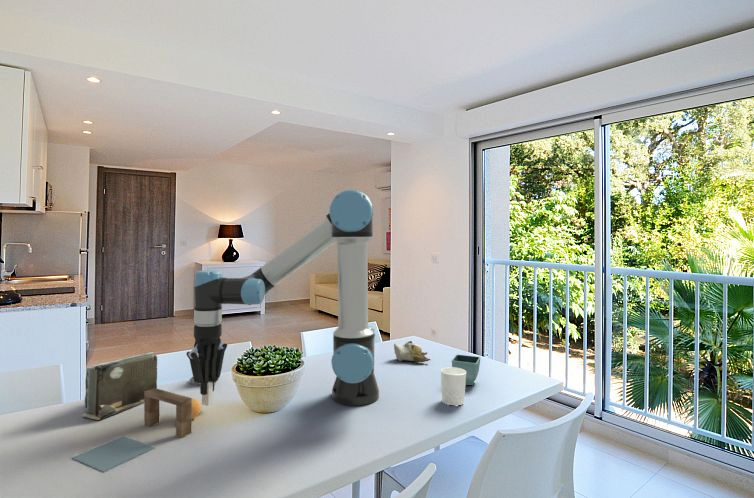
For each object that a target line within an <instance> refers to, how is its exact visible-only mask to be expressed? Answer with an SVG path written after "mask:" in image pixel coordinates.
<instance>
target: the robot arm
mask: <svg viewBox="0 0 754 498" xmlns="http://www.w3.org/2000/svg"><path fill="white" fill-rule="evenodd" d="M373 216H374V209H373V204H372V202H371V199H370V197H369V196H368V195H366V193H364V192H362V191H360V190H357V189H345V190H343V191H341V192H338V194H336V195H335V196H334V197H333V199H332V201H331V202H330V206H329V213H327V214H326V215H325V216H324V221H322V222H320V223H319V224H318V225H317V226H316V227H314V228H312V230H310V231H308V232H307V233H306V234H305V235H303V236H302V237H300V238H298V240H296V241H295V242H293V243H292V244H291V245H290V246H288V247H286V248H285V249H284V250H283V251H281V252H279V254H277V255H276V256H274V257H273V258H272V259H270V260H269V261H268V262H267V263H265V264H264V265H263V266H261V267H260V268H258V269H257V270H255V271H254V272H253V273H252V274H250V275H246V276H244V277H230V278H229V277H223V276H224V275H223V272H222V271H221V270H215V269H214V270H213V269H212V270H211V269H204V270H198V271H196V272H195V273H194V281H193V282H194V283H193V296H194V297H193V298H194V299H193V305H194V307H193V323H194V326H193V338H194V341H195V342H194V344H193V348H192V349H191V350H190V351H187V352H186V356H187V358H188V359H189V364H190V368H191V373H192V377H193V378H194V382H196V384H200V385H199V387H200V390H199V391H200V393H199V394H200V395H201V404H202V405H204V406H208V407H209V406H212V405H213V400H214V399H213V397H214V395H213V392H214V391H215V383H214V382H216V381H217V379H216V378H217V377H219V378H220V377H221V372H222V369H223V364H224V363H223V362H224V357H225V352H226V349H227V347H228V344H227V343H225V342H222V340H221V337H222V333H223V329H222V328H223V327H222V322H223V318H222V317H223V314H222V313H223V305H248V306H251V305H260V304H262V303H263V301H264V299H265V295H266V294H267V293H268V292H270V291H271V290H273V289H274V288H275V287H276V286H278V285H279V284H280V283H281V282H283V281H284V280H286V279H287V278H288V277H290V276H291V275H293V274H294V273H295V272H297V270H299V269H301V268H302V267H303V266H305V265H306V264H308V263H309V262H310V261H312V260H313V259H314V258H317V256H319V255H320V254H321V253H323V252H324V251H325V250H327V249H328V248H329V247H331V246H333V245H334V244H335V243H336V245H337V246H336V247H337V303H338V304H337V307H338V308H337V313H338V314H337V315H338V317H337V318H338V319H337V320H338V321H337V322H338V324H337V325H338V326H337V327H336V329H335V330H334V331H333V336H332V337H333V338H332V339H333V340H332V342H333V343H332V344H333V345H332V346H333V347H332V349H333V353H332V356H331V369H332V371H333V373H334V375H335V376H336V377H335V380H334V384H333V386H332V390H331V398H332V399H333V401H334V402H337V403H338V404H341V405H346V406H364V405H365V404H366V405H370V404H373V403H374V402H377V399H378V400H379V398H380V390H379V389H380V388H379V386H378V382H377V378H376V376H375V337H376V333H375V328H374V326H371V325H369V294H368V293H369V286H368V285H369V281H368V279H369V275H368V274H369V273H368V271H369V270H368V266H369V264H368V259H369V258H368V244H369V242H370V241H371V240H372V239H373V229H374V228H373ZM216 372H217V373H216ZM217 382H218V381H217ZM217 382H216V383H217ZM366 405H365V406H366Z"/></svg>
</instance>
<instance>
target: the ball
mask: <svg viewBox="0 0 754 498" xmlns="http://www.w3.org/2000/svg"><path fill="white" fill-rule="evenodd" d="M191 398H192V397H191ZM201 404H202V403H201V402H200V401H199V400H198V399H197V398H192V414H191V420H193V419H195V418H197V417H198V416H199V414H200V413H201V410H202V405H201Z"/></svg>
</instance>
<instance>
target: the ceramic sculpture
mask: <svg viewBox="0 0 754 498" xmlns="http://www.w3.org/2000/svg"><path fill="white" fill-rule="evenodd" d="M393 349H394V355H395V357H396V360H397V361H398V360H399V361H398V362H402V361H408V360H409V361H408V362H412V361H415V362H418V363H426V362H429V361H431V359H430V358H427V357H426V355H428V352H423V351H422V347H421V346H420V345H419V344H417V343H413V341H412V340H410V341H407V342H405V343H404V344H403V345H401V344H398V343H393Z"/></svg>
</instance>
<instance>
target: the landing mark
mask: <svg viewBox="0 0 754 498" xmlns="http://www.w3.org/2000/svg"><path fill="white" fill-rule="evenodd" d="M153 449H155V446H153V445H150V444H147V443H144V442H141V441H139V440H136V439H133V438H131V437H128V436H125V435H122V436H120V437H118V438H115V439H113V440H111V441H107V442H105V443H103V444H100V445H98V446H96V447H93V448H90V449H89V450H87V451H84V452H81V453H79V454H78V455H75V456H72V457H71V459H73V460H74V459H75V461H77V462H79V463H81V462H82V464H83V463H84V464H83V465H85V466H88V465H89V467H90V466H91V467H90V468H93V467H94V468H93V469H95V468H96V469H95V470H97V469H98V471H99V470H101V471H100V472H102V473H106V472H107V470H108V471H110V470H112V469H114V468H116V467H118V466H120V465H122V464H124V463H126V462H129V461H130V460H133V459H135V458H137V457H139V456H141V455H143V454H145V453H148V452H149V451H151V450H153ZM109 469H110V470H109ZM105 471H106V472H105Z"/></svg>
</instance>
